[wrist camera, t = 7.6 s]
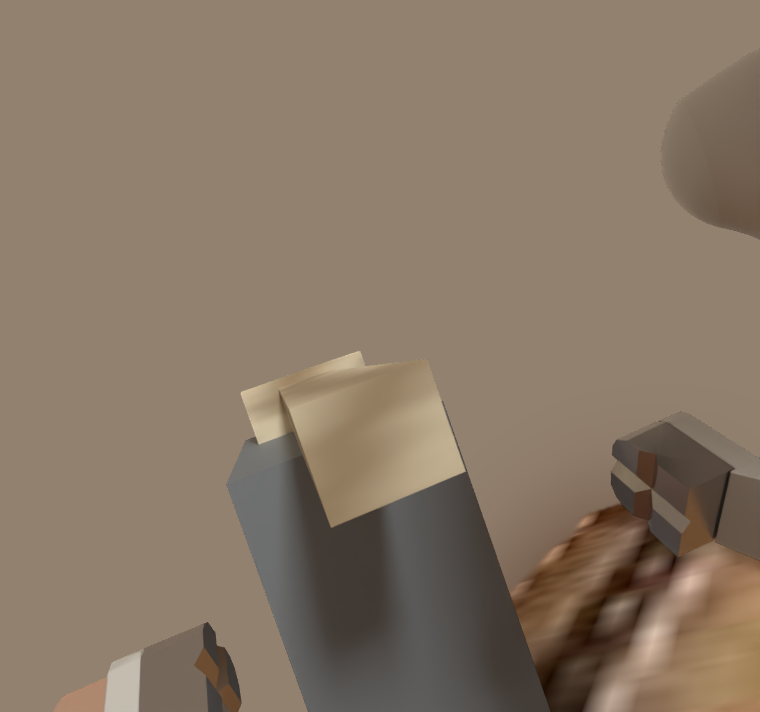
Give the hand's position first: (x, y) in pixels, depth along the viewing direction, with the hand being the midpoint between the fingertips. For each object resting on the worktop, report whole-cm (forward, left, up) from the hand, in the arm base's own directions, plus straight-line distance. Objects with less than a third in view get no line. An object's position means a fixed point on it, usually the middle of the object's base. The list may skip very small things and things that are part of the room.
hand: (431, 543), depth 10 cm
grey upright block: (0, -18, -25) cm, 31 cm away
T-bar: (0, -12, +1) cm, 12 cm away
